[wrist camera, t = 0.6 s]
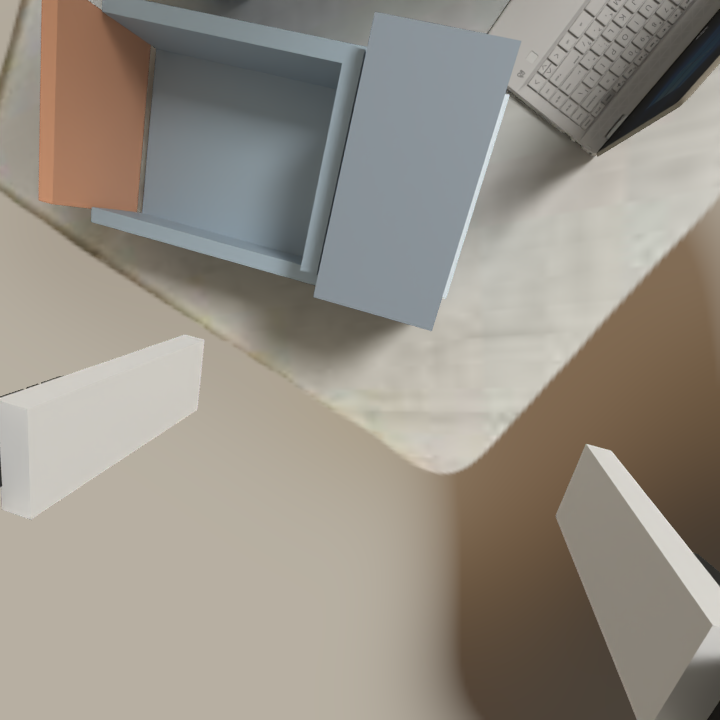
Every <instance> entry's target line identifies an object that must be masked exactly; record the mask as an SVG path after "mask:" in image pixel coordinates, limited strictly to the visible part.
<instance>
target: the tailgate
mask: <svg viewBox="0 0 720 720" xmlns="http://www.w3.org/2000/svg"><path fill="white" fill-rule="evenodd" d="M150 48H151V45H150V44H148V43H147V42H146V41H144V40H143V39H141V38H140V37H138V36H137V35H135V34H134V33H133V32H131V31H130V30H128V29H127V28H125V27H124V26H122V25H121V24H120V23H118V22H117V21H115V20H114V19H112V18H111V17H109V16H108V15H106V14H105V13H104V12H102V10H101V9H99V8H98V7H96V6H95V5H94V4H92V3H91V2H89V1H88V0H42V18H41V81H40V143H39V201H43V202H46V203H50V204H55V205H64V206H73V207H81V208H90V209H92V207H98V208H106V209H115V210H123V211H132V212H137V204H138V192H139V180H140V168H141V156H142V144H143V132H144V120H145V108H146V96H147V84H148V72H149V60H150Z"/></svg>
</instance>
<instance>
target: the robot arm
mask: <svg viewBox="0 0 720 720" xmlns="http://www.w3.org/2000/svg"><path fill="white" fill-rule="evenodd" d="M203 350H204V339H200V338H196V337H193V336H189V335H182V336H179V337H176V338H173V339H170V340H167V341H164V342H161V343H159V344H155V345H153V346H150V347H147V348H144V349H141V350H138V351H135V352H132V353H130V354H126V355H124V356H120V357H118V358H115V359H112V360H109V361H106V362H103V363H100V364H97V365H94V366H92V367H88V368H85V369H83V370H80V371H77V372H74V373H71V374H68V375H65V376H59V377H56V378H53V379H50V380H48V381H44V382H42V383H41V384H36V385H33V386H30V387H27V388H26V389H21V390H18V391H15V392H12V393H9V394H6V395H3V396H0V487H1V504H2V510H5V511H8V512H10V513H13V514H16V515H19V516H21V517H24V518H27V519H30V520H31V519H33V518H34V517H36V516H37V515H39V514H40V513H42V512H43V511H45V510H46V509H48V508H49V507H51V506H52V505H54V504H56V503H57V502H59V501H60V500H62V499H63V498H65V497H66V496H68V495H69V494H71V493H72V492H74V491H75V490H77V489H78V488H80V487H81V486H82V485H84V484H86V483H87V482H88V481H90V480H92V479H93V478H95V477H96V476H98V475H99V474H101V473H102V472H104V471H105V470H107V469H108V468H110V467H111V466H113V465H114V464H116V463H117V462H119V461H121V460H122V459H124V458H125V457H127V456H128V455H129V454H131V453H133V452H134V451H136V450H137V449H139V448H140V447H142V446H143V445H145V444H146V443H148V442H149V441H151V440H152V439H154V438H155V437H157V436H158V435H160V434H161V433H163V432H164V431H166V430H167V429H169V428H170V427H172V426H173V425H175V424H176V423H178V422H179V421H181V420H182V419H184V418H186V417H187V416H188V415H190V414H191V413H193V412H195V411H196V410H197V409H198V399H199V389H200V380H201V370H202V360H203ZM556 518H557V521H558V523H559V526H560V528H561V531H562V533H563V536H564V538H565V541H566V543H567V546H568V548H569V551H570V553H571V556H572V558H573V561H574V563H575V566H576V568H577V571H578V573H579V576H580V578H581V581H582V583H583V586H584V588H585V591H586V593H587V596H588V598H589V601H590V603H591V606H592V608H593V611H594V613H595V616H596V618H597V621H598V623H599V626H600V628H601V631H602V633H603V636H604V638H605V641H606V643H607V646H608V648H609V651H610V653H611V656H612V658H613V661H614V663H615V666H616V668H617V671H618V673H619V676H620V678H621V680H622V683H623V686H624V688H625V691H626V693H627V696H628V698H629V701H630V703H631V706H632V708H633V711H634V713H635V716H636V718H637V720H720V572H719V571H718V570H716V569H715V568H714V567H713V566H712V565H710V564H709V563H708V562H707V561H706V560H704V559H703V558H702V557H701V556H699V555H698V554H696V553H692V551H691V550H690V549H689V548H688V546H687V545H686V544H685V543H684V541H683V540H682V539H681V537H680V536H679V535H678V534H677V533H676V531H675V530H674V529H673V528H672V526H671V525H670V524H669V522H668V521H667V520H666V519H665V517H664V516H663V515H662V514H661V512H660V511H659V510H658V509H657V507H656V506H655V505H654V504H653V502H652V501H651V500H650V499H649V498H648V496H647V495H646V494H645V492H644V491H643V490H642V489H641V487H640V486H639V485H638V484H637V482H636V481H635V480H634V479H633V477H632V476H631V475H630V474H629V472H628V471H627V470H626V469H625V467H624V466H623V465H622V464H621V463H620V461H619V460H618V459H617V457H616V456H615V455H614V454H613V452H612V451H610V450H607V449H603V448H599V447H596V446H592V445H588V444H586V445H585V448H584V450H583V452H582V455H581V457H580V459H579V462H578V464H577V466H576V469H575V471H574V474H573V476H572V478H571V481H570V483H569V485H568V488H567V490H566V493H565V495H564V497H563V500H562V502H561V505H560V507H559V509H558V511H557V514H556Z"/></svg>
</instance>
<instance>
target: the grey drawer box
mask: <svg viewBox="0 0 720 720" xmlns="http://www.w3.org/2000/svg"><path fill="white" fill-rule="evenodd" d="M102 12H104V13H105V14H106V15H108V16H109V17H111V18H112V19H114V20H115V21H117V22H118V23H120V24H121V25H122V26H124V27H125V28H127V29H128V30H130V31H131V32H133V33H134V34H135V35H137V36H138V37H140V38H141V39H143V40H144V41H146V42H147V43H148V44H150V45H151V46H153V47H154V48H156V59H155V70H154V82H153V93H152V105H151V116H150V128H149V139H148V151H147V162H146V174H145V185H144V197H143V208H142V213H140V212H132V211H123V210H115V209H106V208H98V207H92V210H91V222H93V223H97V224H100V225H104V226H107V227H111V228H114V229H118V230H121V231H125V232H128V233H132V234H135V235H139V236H143V237H146V238H150V239H153V240H157V241H160V242H164V243H167V244H171V245H174V246H178V247H181V248H185V249H188V250H192V251H195V252H199V253H203V254H206V255H210V256H213V257H217V258H220V259H224V260H227V261H231V262H234V263H238V264H241V265H245V266H248V267H252V268H256V269H259V270H263V271H266V272H270V273H273V274H277V275H280V276H284V277H287V278H291V279H294V280H298V281H301V282H305V283H309V284H312V285H316V286H315V291H314V296H313V297H315V298H318V299H322V300H325V301H329V302H332V303H336V304H339V305H343V306H346V307H350V308H353V309H357V310H360V311H364V312H367V313H371V314H374V315H378V316H381V317H385V318H388V319H391V320H395V321H398V322H402V323H405V324H409V325H412V326H416V327H419V328H423V329H426V330H430V331H432V329H433V325H434V322H435V319H436V316H437V312H438V309H439V306H440V303H441V300H442V298H444V299H446V297H447V294H448V291H449V288H450V284H451V281H452V278H453V275H454V272H455V268H456V265H457V262H458V259H459V256H460V252H461V249H462V246H463V243H464V240H465V236H466V233H467V230H468V227H469V224H470V220H471V217H472V214H473V211H474V208H475V204H476V201H477V198H478V195H479V192H480V188H481V185H482V182H483V179H484V176H485V172H486V169H487V166H488V163H489V160H490V156H491V153H492V150H493V147H494V144H495V140H496V137H497V134H498V131H499V128H500V124H501V121H502V118H503V115H504V112H505V109H506V105H507V102H508V99H509V96H510V95H509V94H505V93H506V90H507V87H508V83H509V80H510V77H511V74H512V70H513V67H514V64H515V61H516V57H517V54H518V51H519V48H520V45H521V41H520V40H515V39H510V38H505V37H500V36H495V35H490V34H485V33H480V32H475V31H470V30H465V29H460V28H455V27H450V26H445V25H440V24H435V23H430V22H425V21H419V20H414V19H409V18H404V17H399V16H394V15H389V14H384V13H379V12H375V14H374V18H373V23H372V27H371V32H370V37H369V41H368V46H367V47H365V46H360V45H356V44H351V43H346V42H341V41H336V40H332V39H327V38H322V37H317V36H313V35H308V34H303V33H298V32H294V31H289V30H284V29H279V28H274V27H270V26H265V25H260V24H255V23H251V22H246V21H241V20H236V19H231V18H227V17H222V16H217V15H212V14H208V13H203V12H198V11H193V10H189V9H184V8H179V7H174V6H169V5H165V4H160V3H155V2H150V1H146V0H102Z"/></svg>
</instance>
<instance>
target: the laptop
mask: <svg viewBox="0 0 720 720" xmlns="http://www.w3.org/2000/svg"><path fill="white" fill-rule="evenodd" d="M713 15H714V16H713ZM707 22H708V23H707ZM701 29H702V30H701ZM488 34H490V35H495V36H500V37H505V38H510V39H515V40H520V41H521V45H520V48H519V51H518V54H517V57H516V61H515V64H514V67H513V70H512V74H511V77H510V80H509V83H508V87H507V89H508V90H509V91H511V92H512V93H513V94H514V95H516V96H517V97H518V98H519V99H520V100H522V101H523V102H524V103H525V104H527V105H528V106H529V107H530V108H531V109H533V110H534V111H535V112H536V113H538V114H539V115H540V116H542V117H543V118H544V119H545V120H547V121H548V122H549V123H550V124H552V125H553V126H554V127H555V128H557V129H558V130H559V131H561V132H562V133H564V132H565V133H566V134H568V135H569V136H570V137H572V138H571V140H572V141H573V142H576V141H577V143H579V144H580V145H582V146H581V148H582V149H583V150H584V151H586V152H587V153H588V154H589V155H591V156H596V155H597V156H600V155H601V154H603V153H605V152H606V151H608V150H610V149H611V148H613V147H614V146H616V145H618V144H619V143H621V142H623V141H624V140H626V139H628V138H629V137H631V136H632V135H634V134H636V133H637V132H639V131H641V130H642V129H644V128H646V127H647V126H649V125H650V124H652V123H654V122H655V121H657V120H659V119H660V118H662V117H663V116H665V115H667V114H668V113H670V112H672V111H673V110H675V109H677V108H678V107H680V106H681V105H682V104H683V103H684V102H685V101H686V100H687V99H688V98H689V97H690V96H691V95H692V94H693V93H694V92H695V91H696V89H697V88H698V87H699V86H700V85H701V84H702V83H703V82H704V80H705V79H706V78H707V77H708V76H709V75H710V74H711V73H712V71H713V70H714V69H715V68H716V67H717V66H718V65H719V64H720V0H511V1H510V2H509V3H508V5H507V6H506V8H505V9H504V11H503V12H502V13H501V15H500V16H499V18H498V19H497V21H496V22H495V24H494V25H493V26H492V28H491V29H490V31H489V32H488ZM684 49H685V50H684ZM678 56H679V57H678ZM672 63H673V64H672ZM661 76H662V77H661ZM655 83H656V84H655ZM649 90H650V91H649ZM643 97H644V98H643ZM632 110H633V111H632ZM621 116H622V117H621ZM620 117H621V118H620ZM619 118H620V119H619ZM617 121H618V122H617ZM616 122H617V123H616ZM615 123H616V124H615ZM614 124H615V125H614ZM613 125H614V126H613ZM611 128H612V129H611ZM610 129H611V130H610ZM609 130H610V131H609ZM608 131H609V132H608ZM605 135H606V136H605ZM604 136H605V137H604Z"/></svg>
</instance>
